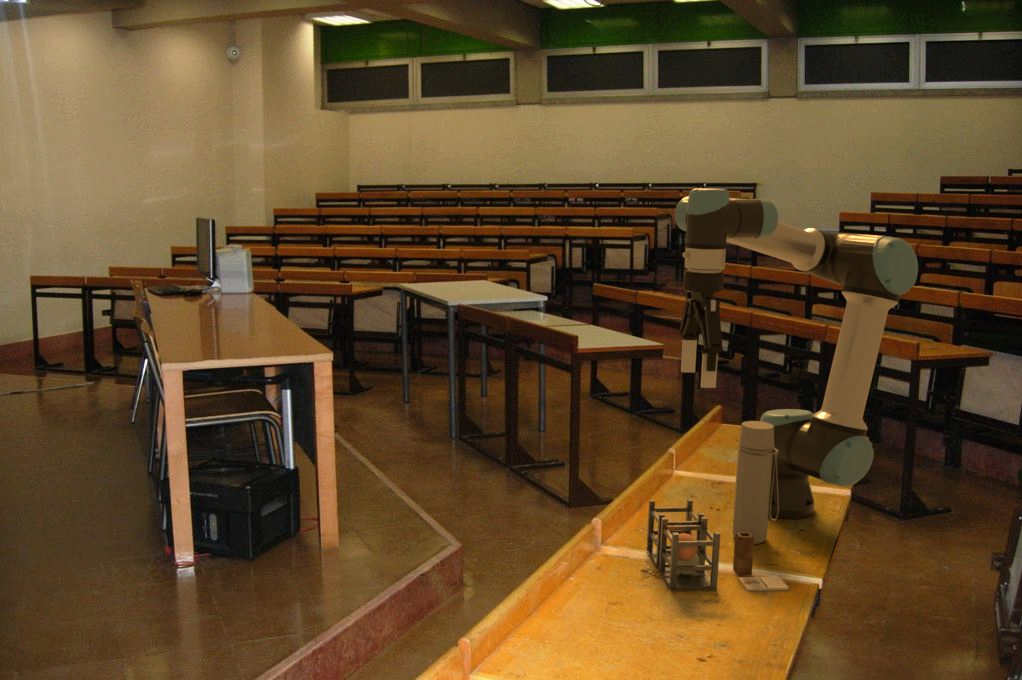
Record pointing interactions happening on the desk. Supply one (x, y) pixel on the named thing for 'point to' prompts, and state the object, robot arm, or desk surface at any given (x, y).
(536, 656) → the desk surface
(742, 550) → the peg stand
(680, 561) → the ball sage
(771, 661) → the desk surface
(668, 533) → the dark open frame crate
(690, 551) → the ball terracotta
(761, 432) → the water bottle
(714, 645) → the desk surface
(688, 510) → the wireframe cube
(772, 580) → the card
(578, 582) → the desk surface
